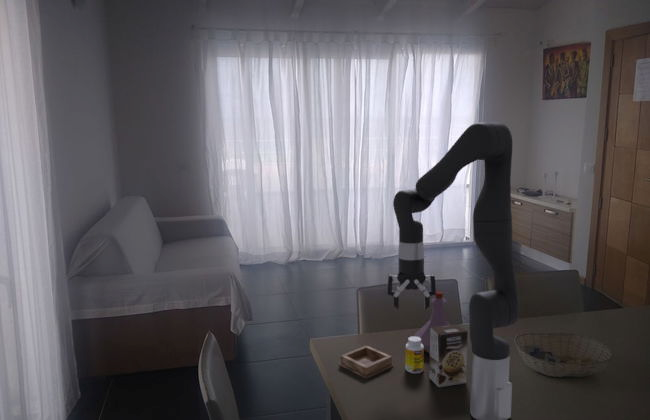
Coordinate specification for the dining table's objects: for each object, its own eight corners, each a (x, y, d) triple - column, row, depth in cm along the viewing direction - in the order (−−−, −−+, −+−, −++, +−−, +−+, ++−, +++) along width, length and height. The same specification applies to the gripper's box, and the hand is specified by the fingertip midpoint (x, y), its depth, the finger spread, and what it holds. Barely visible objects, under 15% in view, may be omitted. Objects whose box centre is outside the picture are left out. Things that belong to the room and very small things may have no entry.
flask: (473, 355, 167) (475, 296, 164) (430, 364, 161) (431, 304, 158) (444, 336, 182) (445, 282, 179) (404, 344, 176) (404, 289, 173)
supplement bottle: (413, 376, 154) (414, 344, 152) (401, 369, 159) (401, 337, 157) (427, 370, 157) (427, 339, 155) (414, 364, 162) (415, 333, 160)
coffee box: (438, 388, 147) (439, 335, 144) (428, 378, 153) (429, 326, 150) (467, 383, 149) (468, 331, 146) (455, 373, 155) (457, 323, 152)
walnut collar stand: (393, 366, 160) (393, 356, 160) (366, 378, 153) (366, 368, 152) (366, 354, 170) (366, 344, 169) (339, 365, 162) (339, 355, 161)
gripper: (434, 252, 155) (433, 304, 157) (386, 253, 156) (387, 304, 159) (437, 258, 148) (436, 312, 150) (387, 259, 149) (388, 312, 151)
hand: (411, 308), depth 154 cm, fingers open, 8 cm apart
